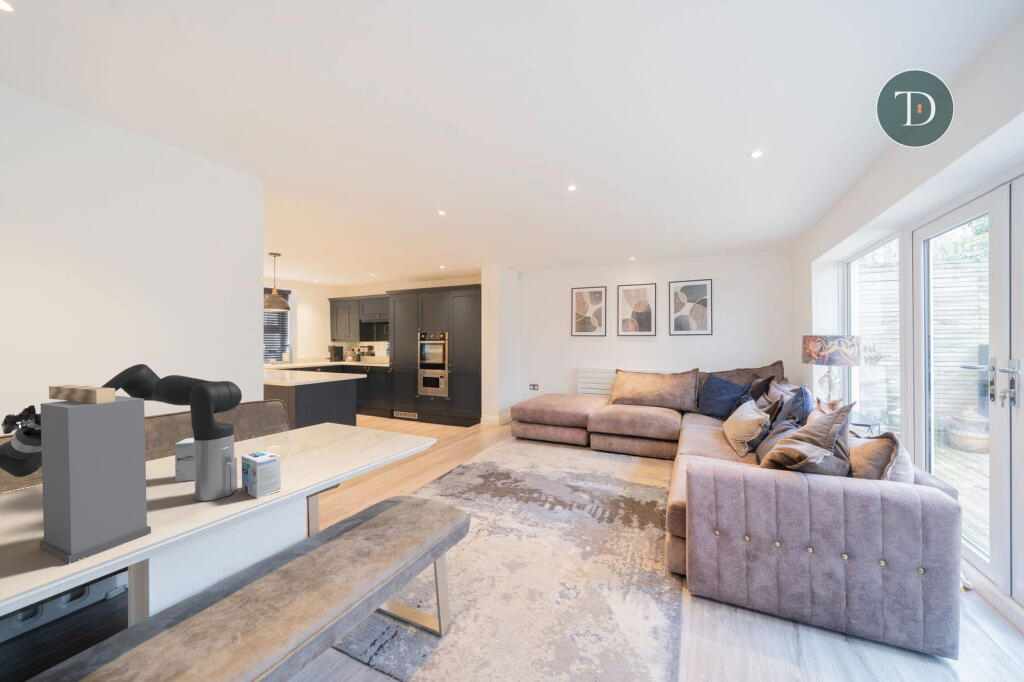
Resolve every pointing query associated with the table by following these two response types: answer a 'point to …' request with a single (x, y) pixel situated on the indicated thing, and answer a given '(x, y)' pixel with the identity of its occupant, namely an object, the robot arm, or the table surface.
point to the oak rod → (82, 393)
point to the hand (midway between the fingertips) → (60, 405)
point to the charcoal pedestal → (93, 476)
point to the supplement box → (184, 460)
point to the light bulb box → (261, 473)
